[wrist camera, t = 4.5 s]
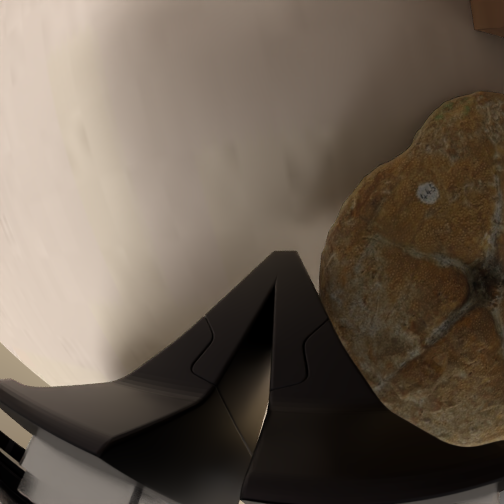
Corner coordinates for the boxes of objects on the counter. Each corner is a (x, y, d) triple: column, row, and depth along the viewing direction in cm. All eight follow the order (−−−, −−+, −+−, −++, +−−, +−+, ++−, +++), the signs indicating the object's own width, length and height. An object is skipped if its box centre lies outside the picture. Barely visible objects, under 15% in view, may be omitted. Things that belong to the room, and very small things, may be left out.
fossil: (664, 262, 1) (422, 510, 5) (610, 265, 5) (440, 443, 9) (458, 39, 6) (251, 291, 9) (464, 107, 9) (313, 286, 13)
